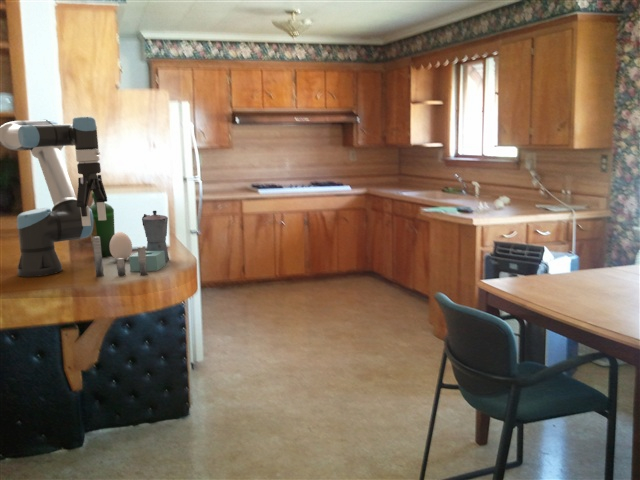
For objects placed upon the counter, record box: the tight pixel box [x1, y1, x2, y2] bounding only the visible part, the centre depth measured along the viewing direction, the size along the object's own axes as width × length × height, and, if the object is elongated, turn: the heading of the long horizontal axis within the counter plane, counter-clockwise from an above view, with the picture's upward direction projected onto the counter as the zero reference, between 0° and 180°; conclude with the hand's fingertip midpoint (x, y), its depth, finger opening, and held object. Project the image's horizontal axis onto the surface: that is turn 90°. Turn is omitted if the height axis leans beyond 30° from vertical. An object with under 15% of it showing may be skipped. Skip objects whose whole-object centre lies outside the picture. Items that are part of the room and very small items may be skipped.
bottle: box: [88, 191, 116, 258], centre depth 267 cm, size 11×11×28 cm
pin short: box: [115, 258, 126, 277], centre depth 229 cm, size 3×3×6 cm
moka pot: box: [141, 210, 170, 263], centre depth 251 cm, size 10×15×20 cm, turn 53°
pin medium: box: [137, 245, 148, 276], centre depth 228 cm, size 3×3×10 cm
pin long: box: [92, 236, 104, 278], centre depth 229 cm, size 3×3×14 cm
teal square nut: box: [128, 250, 166, 272], centre depth 239 cm, size 10×10×6 cm
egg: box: [109, 231, 133, 261], centre depth 256 cm, size 9×9×12 cm
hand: (94, 223), depth 227 cm, fingers open, 13 cm apart
